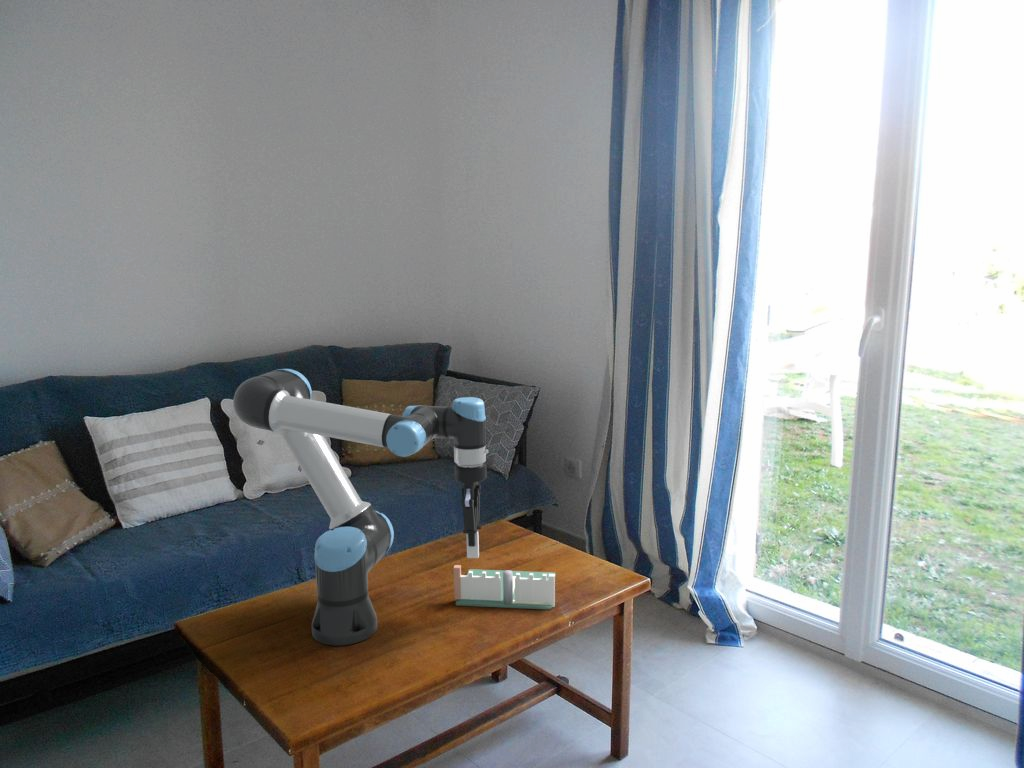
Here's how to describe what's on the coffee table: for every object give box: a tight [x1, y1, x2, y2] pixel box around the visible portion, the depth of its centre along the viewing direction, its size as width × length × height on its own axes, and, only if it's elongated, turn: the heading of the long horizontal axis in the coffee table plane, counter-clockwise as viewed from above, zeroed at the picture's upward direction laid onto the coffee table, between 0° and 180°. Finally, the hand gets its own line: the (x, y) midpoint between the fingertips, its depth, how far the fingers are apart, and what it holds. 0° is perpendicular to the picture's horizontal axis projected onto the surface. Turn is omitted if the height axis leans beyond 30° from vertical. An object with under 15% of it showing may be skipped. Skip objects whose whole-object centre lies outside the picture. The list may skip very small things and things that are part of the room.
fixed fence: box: [503, 569, 556, 608], centre depth 187 cm, size 13×2×8 cm, turn 84°
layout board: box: [455, 568, 557, 610], centre depth 196 cm, size 24×20×1 cm
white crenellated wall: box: [453, 564, 501, 601], centre depth 188 cm, size 12×2×8 cm, turn 84°
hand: (473, 556), depth 181 cm, fingers closed
